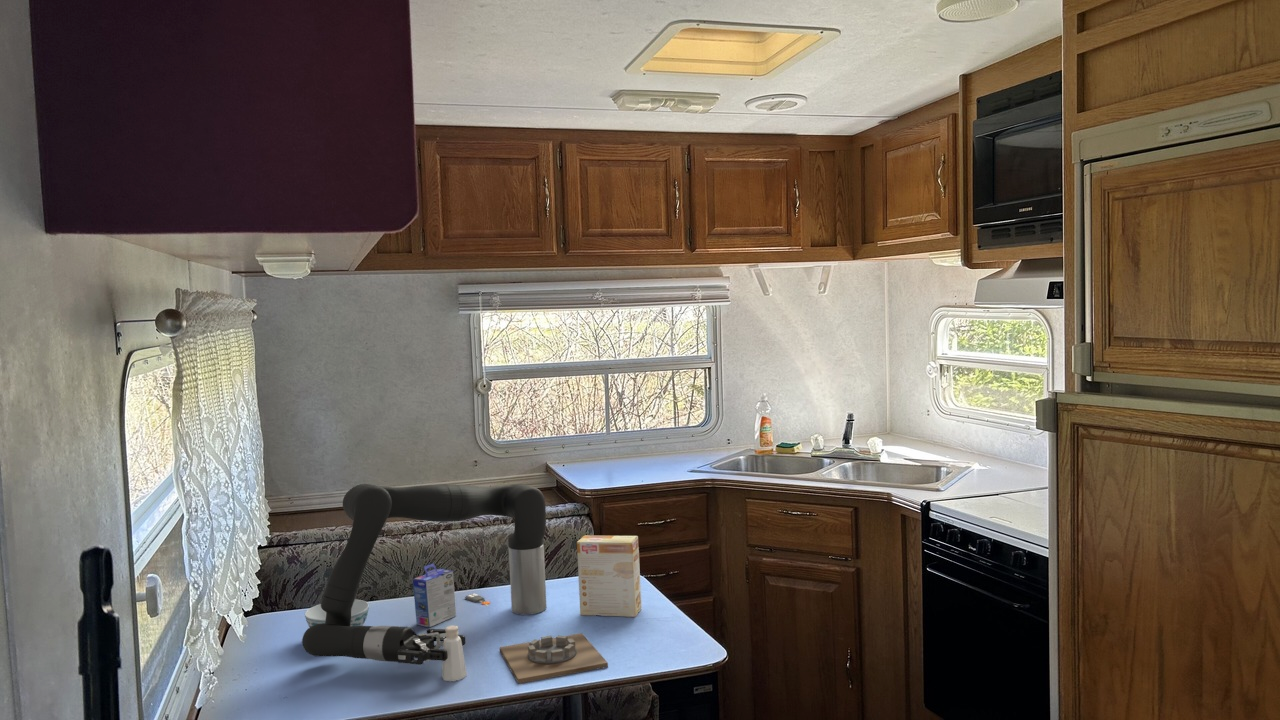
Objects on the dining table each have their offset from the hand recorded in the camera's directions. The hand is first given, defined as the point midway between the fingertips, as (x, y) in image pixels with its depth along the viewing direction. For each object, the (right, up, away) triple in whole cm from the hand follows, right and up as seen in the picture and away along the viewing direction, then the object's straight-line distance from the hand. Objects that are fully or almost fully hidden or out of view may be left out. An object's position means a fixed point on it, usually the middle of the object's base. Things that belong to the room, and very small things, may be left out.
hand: (456, 647), depth 193 cm
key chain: (-3, -5, +51) cm, 51 cm away
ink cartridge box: (-13, -5, +37) cm, 40 cm away
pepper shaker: (0, -7, 0) cm, 7 cm away
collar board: (+20, -5, +8) cm, 22 cm away
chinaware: (-34, -7, +26) cm, 44 cm away
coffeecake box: (+33, -3, +38) cm, 50 cm away
